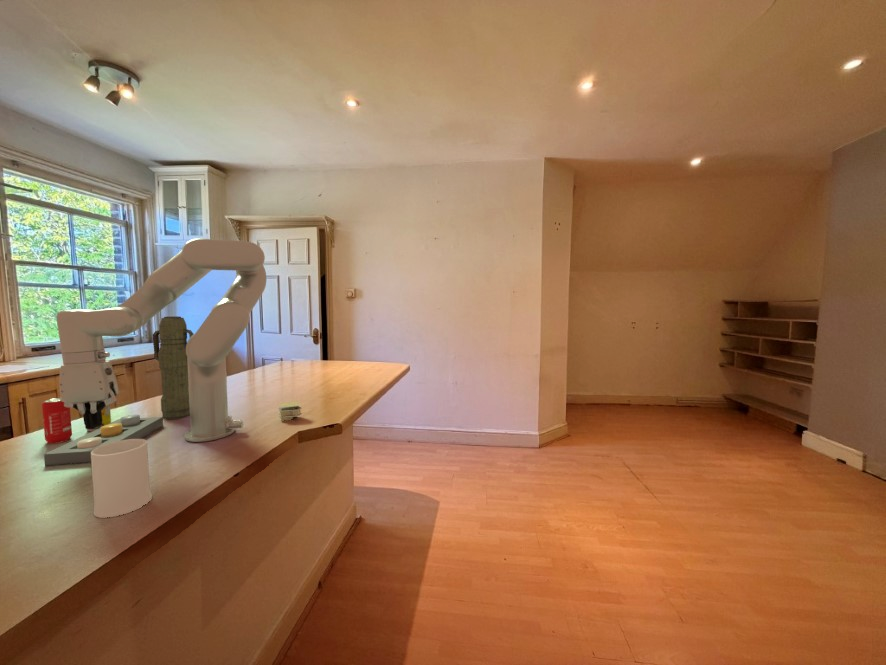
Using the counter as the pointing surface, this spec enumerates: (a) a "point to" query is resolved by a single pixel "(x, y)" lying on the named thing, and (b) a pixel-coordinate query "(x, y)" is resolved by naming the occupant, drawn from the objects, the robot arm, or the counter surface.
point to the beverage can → (56, 421)
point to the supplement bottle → (104, 417)
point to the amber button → (111, 429)
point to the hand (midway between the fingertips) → (94, 426)
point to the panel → (83, 455)
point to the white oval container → (120, 477)
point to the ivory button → (89, 442)
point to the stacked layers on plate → (289, 410)
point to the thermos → (173, 366)
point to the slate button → (130, 420)
